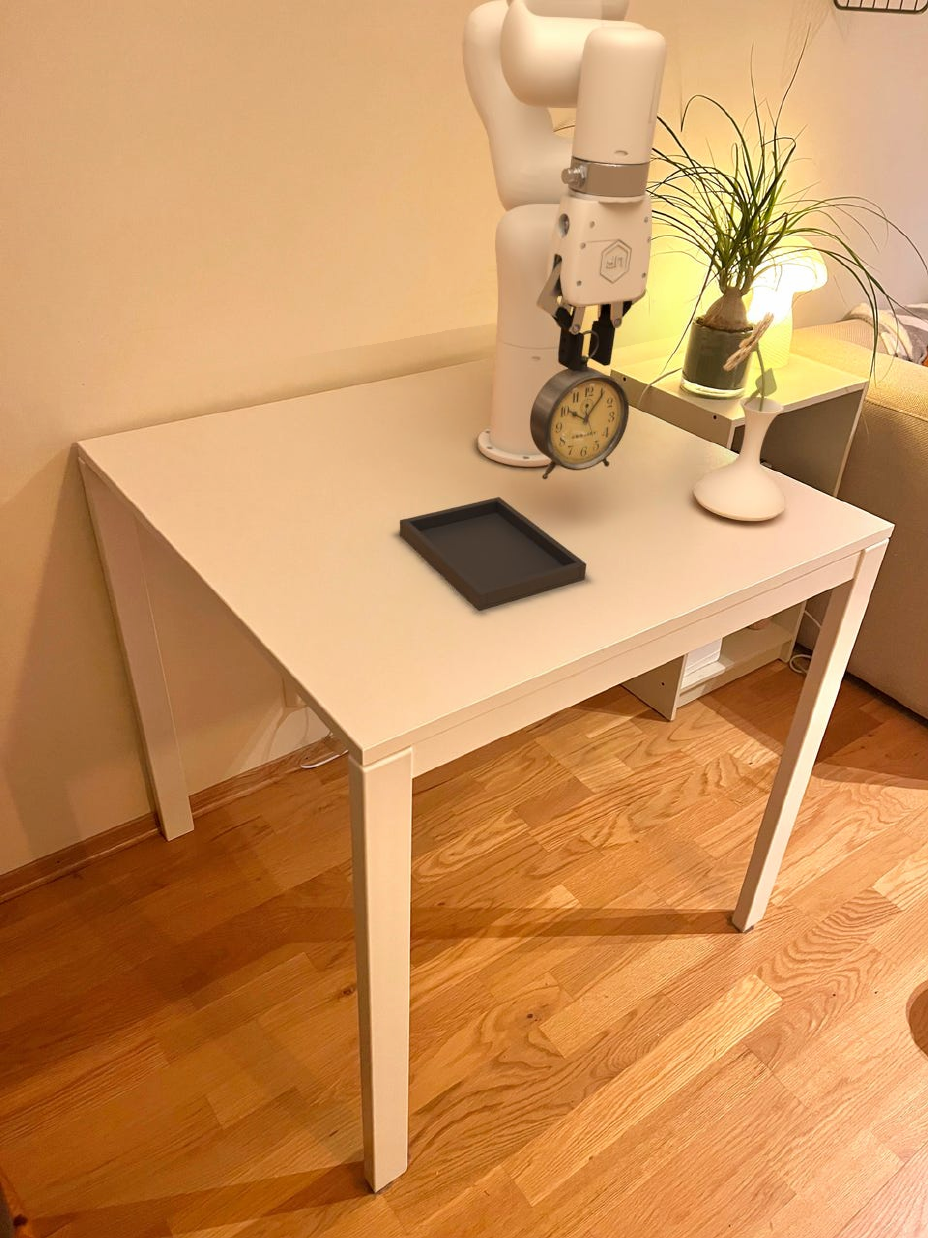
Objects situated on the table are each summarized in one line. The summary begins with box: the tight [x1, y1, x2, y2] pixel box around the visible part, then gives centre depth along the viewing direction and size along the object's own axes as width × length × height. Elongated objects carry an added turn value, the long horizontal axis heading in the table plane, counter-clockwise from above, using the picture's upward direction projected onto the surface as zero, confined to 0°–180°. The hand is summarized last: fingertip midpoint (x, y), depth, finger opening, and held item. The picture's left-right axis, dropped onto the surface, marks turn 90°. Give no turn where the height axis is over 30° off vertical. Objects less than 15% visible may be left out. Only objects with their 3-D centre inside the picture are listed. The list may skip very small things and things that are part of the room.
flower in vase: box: [693, 311, 787, 522], centre depth 108 cm, size 13×11×25 cm
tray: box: [399, 496, 587, 611], centre depth 102 cm, size 14×18×2 cm
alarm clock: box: [530, 329, 630, 480], centre depth 102 cm, size 11×5×16 cm, turn 117°
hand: (584, 362), depth 99 cm, fingers closed on alarm clock, 3 cm apart
